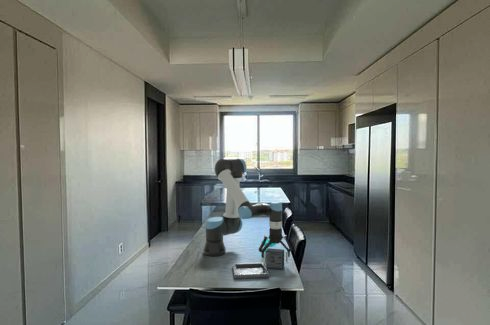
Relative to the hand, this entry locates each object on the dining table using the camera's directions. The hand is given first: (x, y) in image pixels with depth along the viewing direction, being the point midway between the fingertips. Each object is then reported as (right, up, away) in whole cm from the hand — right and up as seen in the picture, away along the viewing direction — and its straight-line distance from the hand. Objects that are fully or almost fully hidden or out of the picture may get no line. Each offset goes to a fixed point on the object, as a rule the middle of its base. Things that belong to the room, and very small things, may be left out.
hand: (275, 262), depth 193 cm
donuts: (-3, -2, +21) cm, 21 cm away
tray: (-16, -3, -8) cm, 18 cm away
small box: (0, -3, 0) cm, 3 cm away
